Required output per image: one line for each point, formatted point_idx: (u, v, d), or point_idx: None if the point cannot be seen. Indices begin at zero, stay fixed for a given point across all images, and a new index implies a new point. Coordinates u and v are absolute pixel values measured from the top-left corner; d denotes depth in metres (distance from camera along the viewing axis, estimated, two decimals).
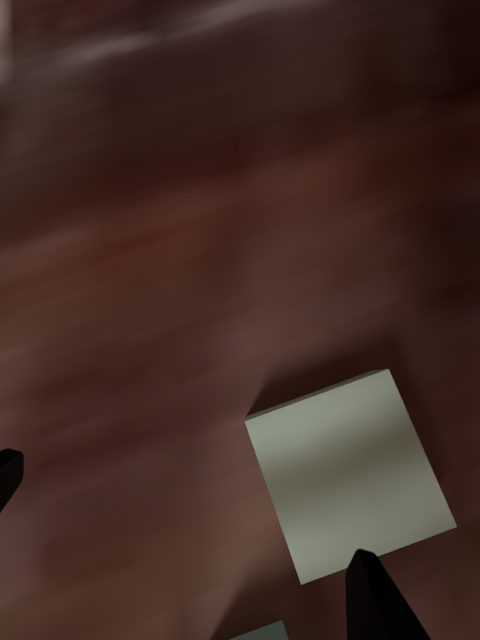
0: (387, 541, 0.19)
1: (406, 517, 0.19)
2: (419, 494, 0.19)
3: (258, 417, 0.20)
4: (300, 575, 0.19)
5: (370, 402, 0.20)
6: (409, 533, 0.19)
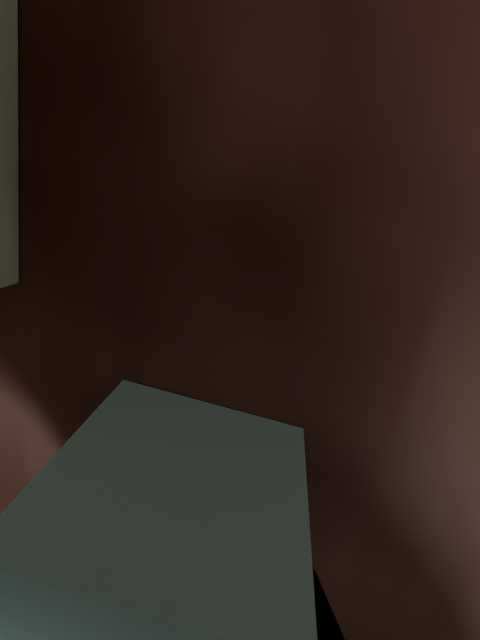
0: None
1: None
2: None
3: None
4: None
5: None
6: None
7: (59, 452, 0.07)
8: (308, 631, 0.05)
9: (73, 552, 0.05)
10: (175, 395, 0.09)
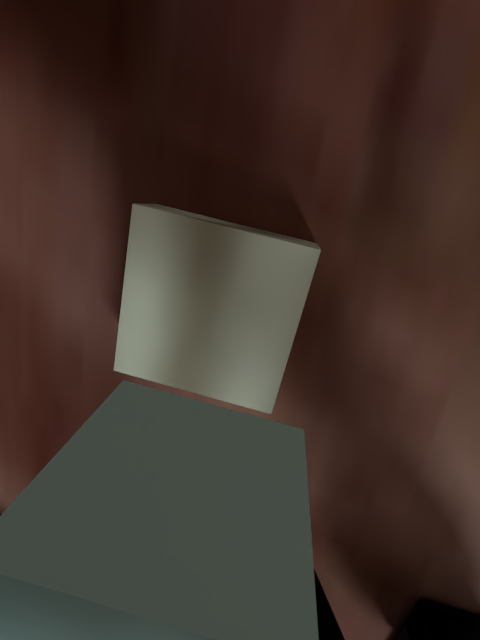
0: (287, 323, 0.17)
1: (280, 292, 0.17)
2: (268, 263, 0.16)
3: (116, 357, 0.19)
4: (263, 410, 0.19)
5: (156, 247, 0.17)
6: (294, 299, 0.17)
7: (59, 453, 0.07)
8: (309, 634, 0.05)
9: (74, 554, 0.05)
10: (175, 396, 0.09)
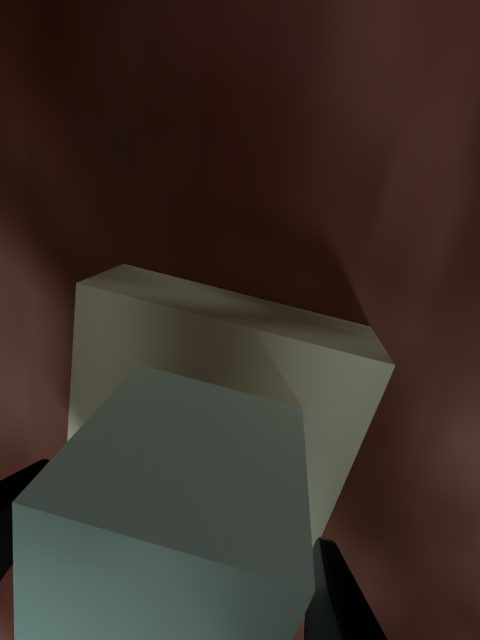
0: (332, 468, 0.11)
1: (322, 424, 0.10)
2: (304, 381, 0.10)
3: None
4: None
5: (119, 350, 0.10)
6: (346, 435, 0.10)
7: (86, 422, 0.08)
8: (306, 564, 0.06)
9: (106, 500, 0.06)
10: (185, 378, 0.10)
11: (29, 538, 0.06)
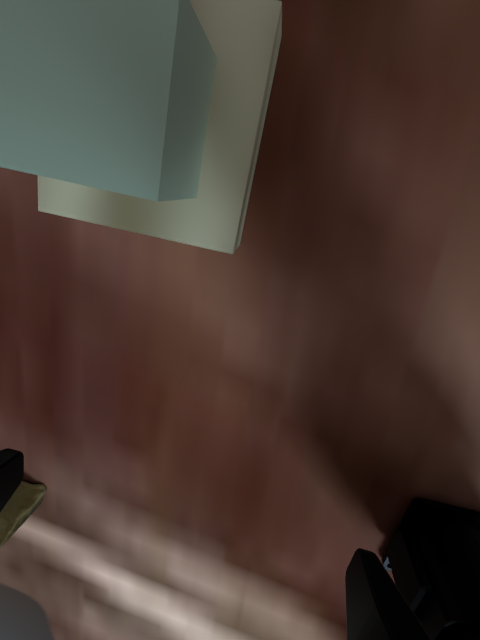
0: (245, 120, 0.13)
1: (233, 73, 0.13)
2: (216, 30, 0.13)
3: (39, 191, 0.15)
4: (223, 249, 0.15)
5: None
6: (252, 82, 0.13)
7: None
8: None
9: None
10: None
11: None
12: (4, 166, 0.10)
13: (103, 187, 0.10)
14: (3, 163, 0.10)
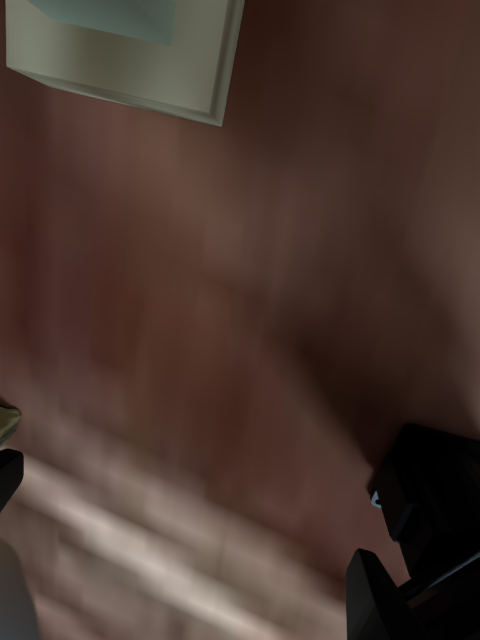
0: None
1: None
2: None
3: (8, 44, 0.15)
4: (198, 107, 0.14)
5: None
6: None
7: None
8: None
9: None
10: None
11: None
12: None
13: None
14: None
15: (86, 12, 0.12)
